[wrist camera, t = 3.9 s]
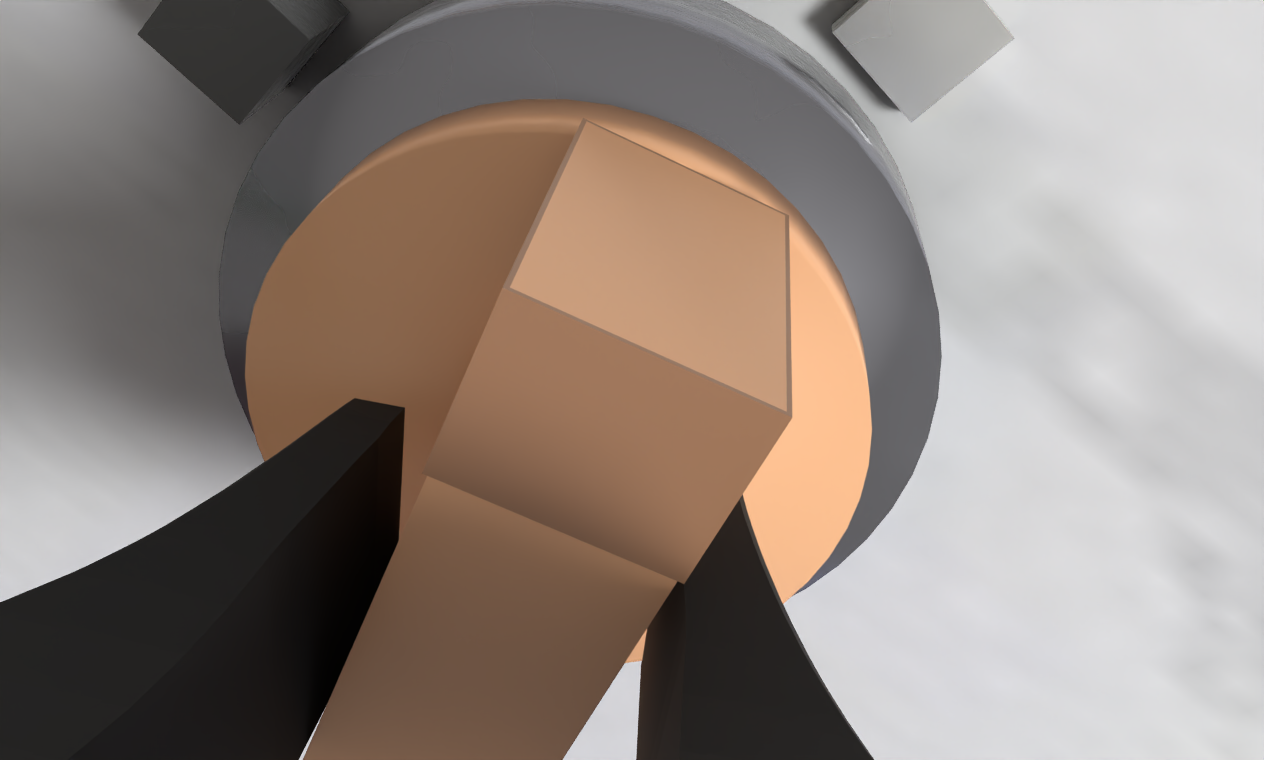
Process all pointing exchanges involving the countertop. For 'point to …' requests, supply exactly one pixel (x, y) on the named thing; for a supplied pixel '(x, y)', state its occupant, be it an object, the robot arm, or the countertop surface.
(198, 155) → the countertop surface
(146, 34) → the post base
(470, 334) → the twist cap
